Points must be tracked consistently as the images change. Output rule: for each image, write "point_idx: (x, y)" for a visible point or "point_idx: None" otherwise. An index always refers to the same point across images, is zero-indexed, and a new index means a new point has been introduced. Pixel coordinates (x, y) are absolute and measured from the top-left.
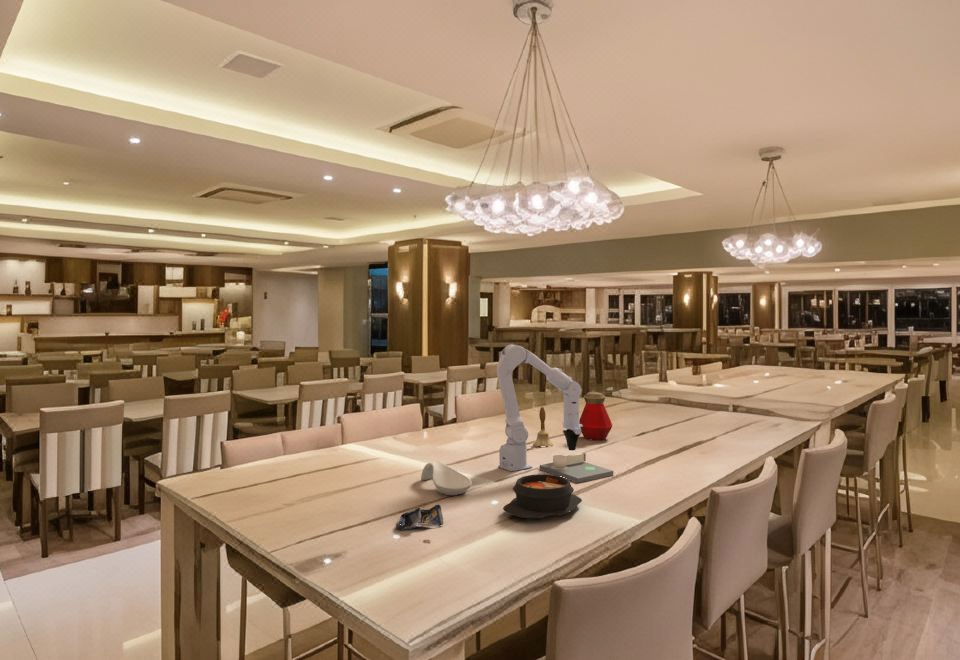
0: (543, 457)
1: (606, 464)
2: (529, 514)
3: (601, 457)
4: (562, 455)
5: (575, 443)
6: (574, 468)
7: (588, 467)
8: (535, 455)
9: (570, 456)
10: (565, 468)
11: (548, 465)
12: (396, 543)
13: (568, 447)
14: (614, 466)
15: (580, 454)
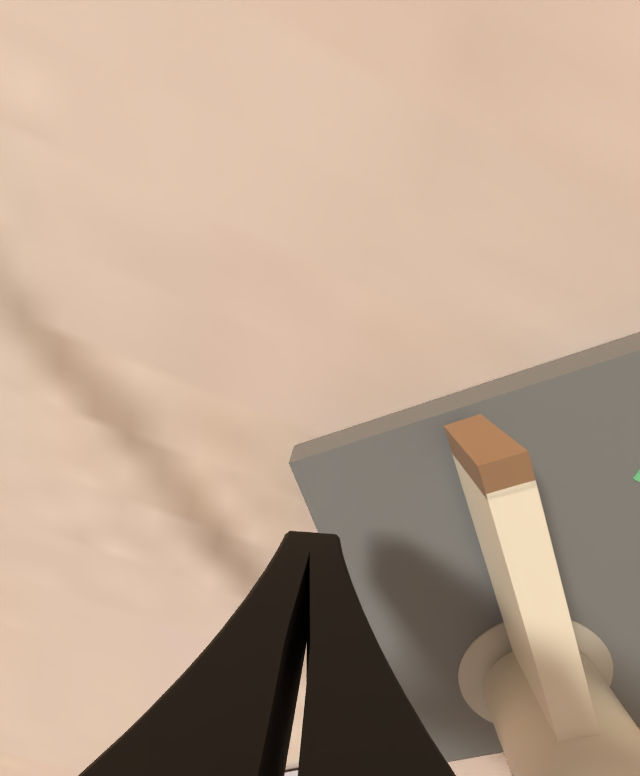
0: (83, 601)
1: (450, 135)
2: None
3: (136, 52)
4: (567, 764)
5: (351, 623)
6: (632, 588)
7: None
8: (18, 631)
9: (582, 671)
10: (604, 655)
11: (451, 723)
12: None
13: (306, 639)
14: (565, 71)
15: (547, 535)
